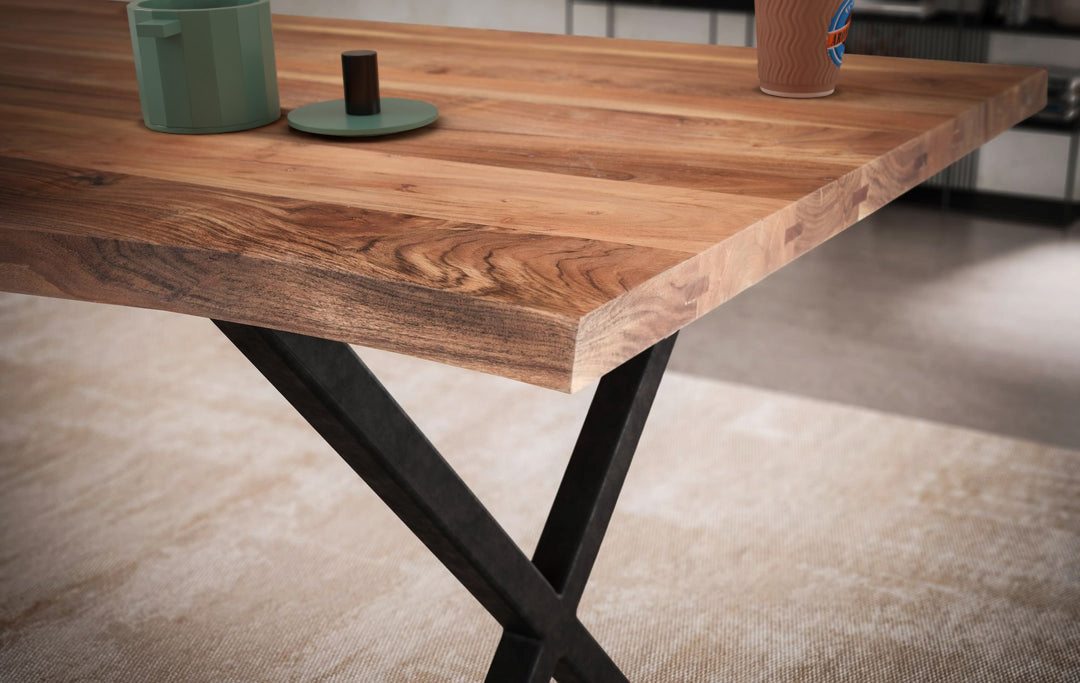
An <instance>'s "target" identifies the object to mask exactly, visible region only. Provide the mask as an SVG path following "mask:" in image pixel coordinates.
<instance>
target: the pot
mask: <svg viewBox="0 0 1080 683" xmlns="http://www.w3.org/2000/svg"><path fill="white" fill-rule="evenodd" d="M126 12H127V21H128V26H129V33H130V39H131V46H132V53H133V60H134V67H135V74H136V81H137V88H138V94H139V102H140V109H141V115H142V116H141V117H142V120H143V121H144V125H145V126H146V127H147V128H148V129H150V130H153V131H157V132H161V133H168V134H180V135H206V134H207V135H208V134H221V133H232V132H233V133H234V132H239V131H247V130H250V129H255V128H256V129H257V128H261V127H263V126H266V125H269V124H272V123H275V122H276V121H278V120H279V119H280V118H281V116H282V114H281V97H280V88H279V78H278V69H277V68H278V67H277V58H276V47H275V37H274V27H273V26H274V25H273V16H272V6H271V0H135V1H130V2H129V3H128V4H126Z"/></svg>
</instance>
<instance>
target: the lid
mask: <svg viewBox="0 0 1080 683" xmlns="http://www.w3.org/2000/svg"><path fill="white" fill-rule="evenodd" d="M340 59H341V60H340V62H341V74H342V85H343V86H342V87H343V98H338V99H329V100H322V101H317V102H314V103H309V104H305V105H302V106H299V107H297V108H294V109H292V110H291V111H289V112H288V113H287V115H286V122H287V125H288V126H290V127H291V128H293V129H295V130H298V131H301V132H307V133H312V134H313V133H314V134H318V135H319V134H320V135H327V136H332V137H333V136H334V137H343V138H344V137H347V138H348V137H349V138H361V137H362V138H363V137H377V136H378V137H379V136H387V135H391V134H397V133H400V132H401V133H402V132H405V131H410V130H414V129H419V128H422V127H424V126H427V125H431V124H432V123H433V122H435V121H437V120H438V118H439V116H440V115H439V114H440V113H439V108H438V106H436V105H434V104H432V103H430V102H427V101H423V100H418V99H412V98H403V97H390V96H389V97H386V96H384V97H383V96H382V97H381V93H380V92H381V90H380V77H379V76H380V74H379V59H378V51H375V50H371V49H354V50H353V49H352V50H346V51H343V52H341V53H340Z"/></svg>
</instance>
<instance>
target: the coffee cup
mask: <svg viewBox="0 0 1080 683" xmlns="http://www.w3.org/2000/svg"><path fill="white" fill-rule="evenodd" d="M854 4H855V0H754V16H755V17H754V18H755V19H754V20H755V38H756V53H757V54H756V56H757V76H758V79H759V86H760V90H761V91H762V93H765V94H766V95H771V96H776V97H782V98H792V99H793V98H796V99H808V98H810V99H811V98H820V97H826V96H829V95H832V93H834V92H835V88H836V85H837V82H838V80H839V77H840V76H839V75H840V71H841V66H842V63H843V57H844V53H845V48H846V43H847V39H848V34H849V29H850V24H851V19H852V16H853V7H854V6H855V5H854Z"/></svg>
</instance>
